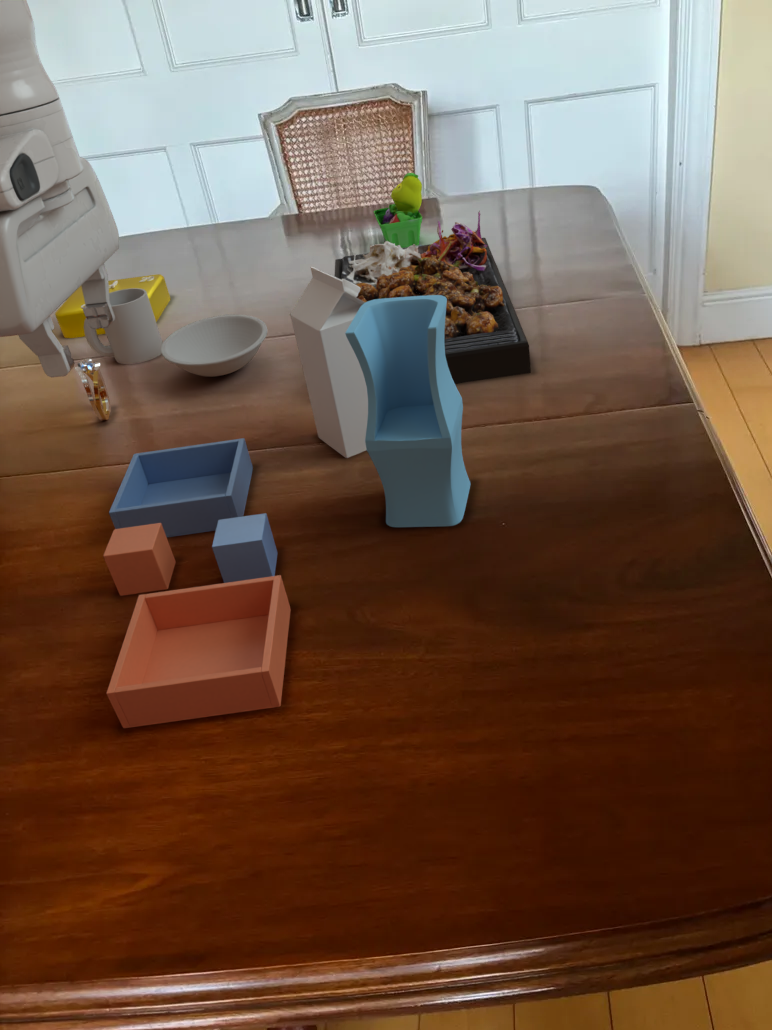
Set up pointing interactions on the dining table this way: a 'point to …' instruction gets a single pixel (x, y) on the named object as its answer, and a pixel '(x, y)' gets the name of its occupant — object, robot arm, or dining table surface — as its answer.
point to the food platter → (450, 298)
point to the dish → (215, 344)
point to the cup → (128, 329)
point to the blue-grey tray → (184, 487)
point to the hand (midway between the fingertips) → (83, 348)
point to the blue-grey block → (245, 548)
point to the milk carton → (332, 361)
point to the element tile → (72, 308)
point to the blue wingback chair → (412, 409)
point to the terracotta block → (140, 559)
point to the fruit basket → (402, 213)
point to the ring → (95, 387)
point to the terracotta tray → (202, 653)
